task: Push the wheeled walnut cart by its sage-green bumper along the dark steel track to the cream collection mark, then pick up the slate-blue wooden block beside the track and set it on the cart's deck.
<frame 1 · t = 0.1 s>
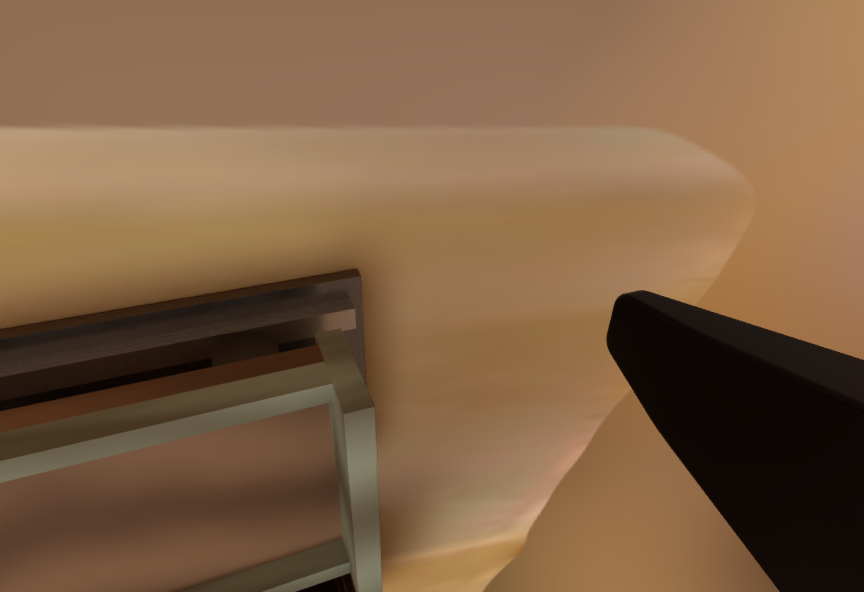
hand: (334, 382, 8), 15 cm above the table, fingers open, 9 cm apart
cart: (144, 513, 21), point 5 cm above the table, slide at 0.0 cm
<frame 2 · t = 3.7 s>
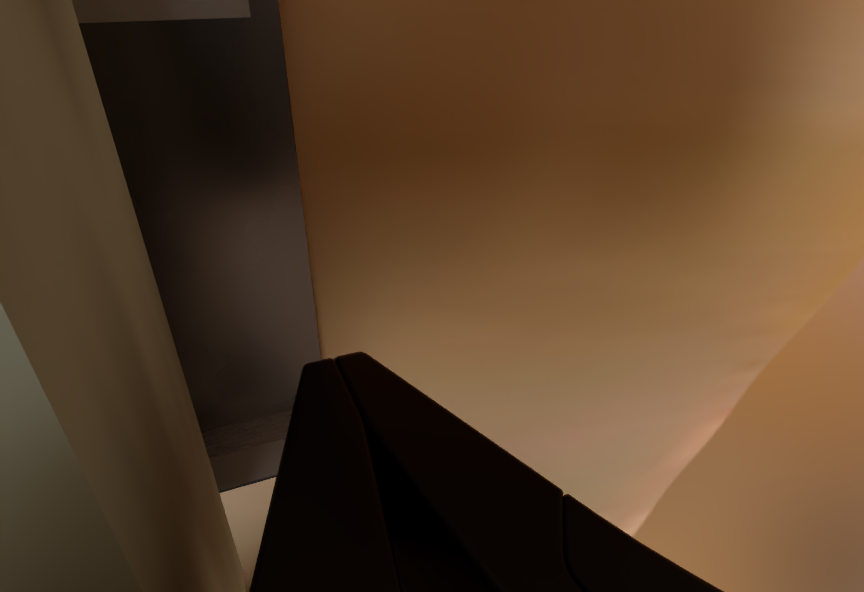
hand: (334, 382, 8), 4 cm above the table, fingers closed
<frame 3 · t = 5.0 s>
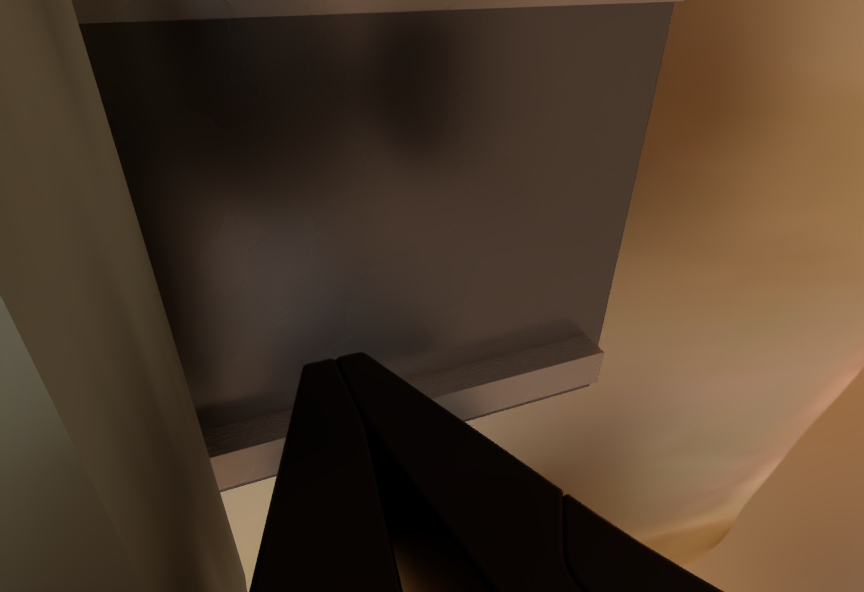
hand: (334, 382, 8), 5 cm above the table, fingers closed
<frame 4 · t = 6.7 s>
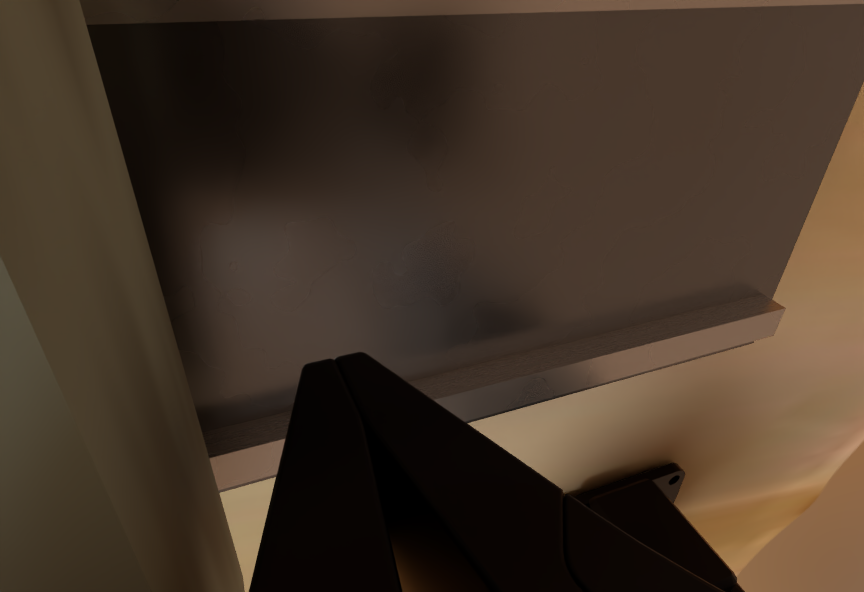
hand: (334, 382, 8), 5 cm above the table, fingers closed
track: (132, 258, 10), on the table
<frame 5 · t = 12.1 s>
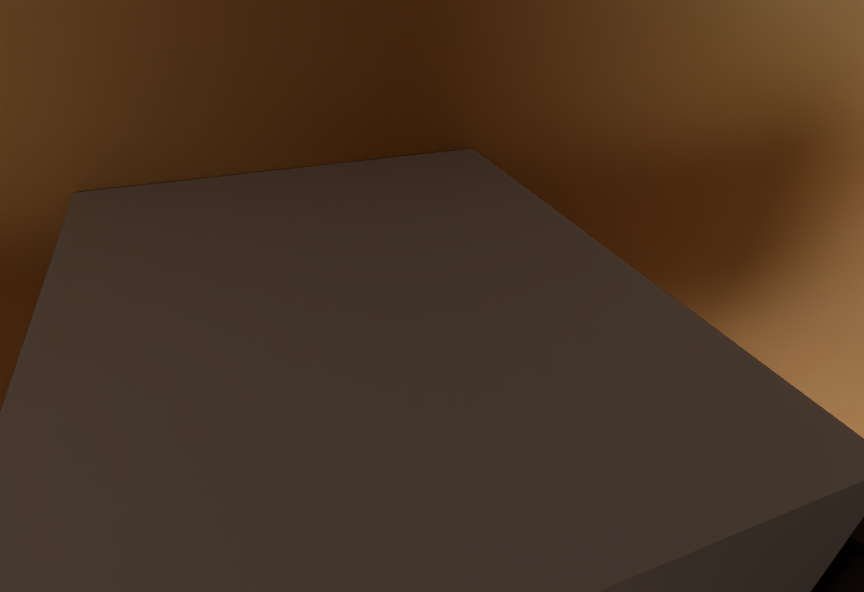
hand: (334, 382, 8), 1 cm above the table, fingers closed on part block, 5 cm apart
part block: (313, 326, 9), on the table, touching gripper
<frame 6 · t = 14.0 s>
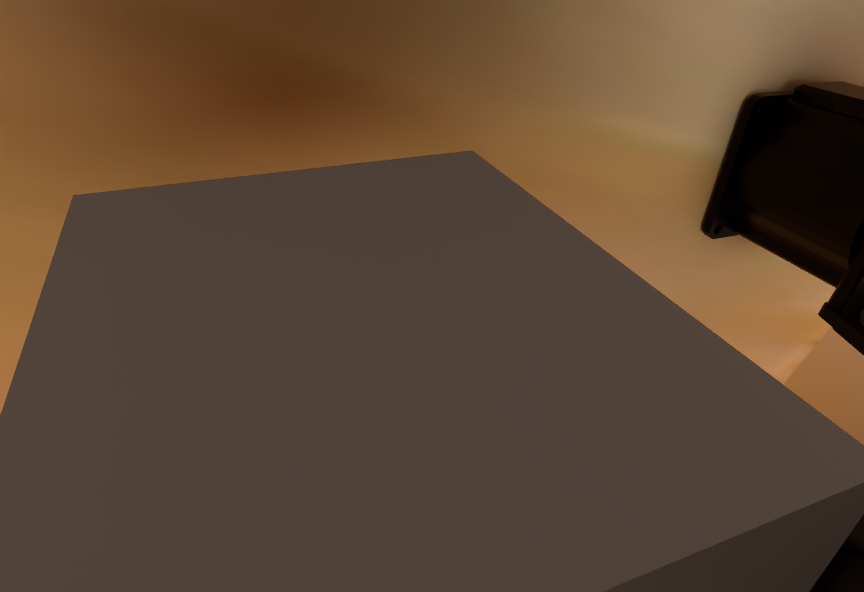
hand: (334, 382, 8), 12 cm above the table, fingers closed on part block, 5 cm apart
part block: (312, 328, 9), point 11 cm above the table, touching gripper
when the fingers open (7 cm above the table, at t = 15.9 s): part block drops 1 cm, resting on cart.
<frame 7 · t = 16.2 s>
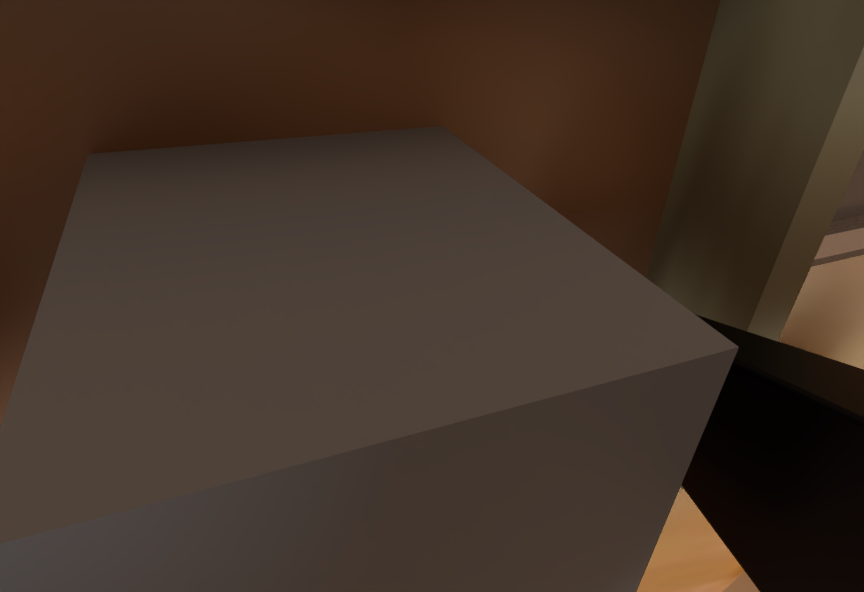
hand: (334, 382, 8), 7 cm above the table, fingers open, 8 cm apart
cart: (330, 267, 10), point 5 cm above the table, slide at 14.8 cm, touching part block
track: (552, 146, 16), on the table
part block: (298, 285, 10), point 5 cm above the table, touching cart
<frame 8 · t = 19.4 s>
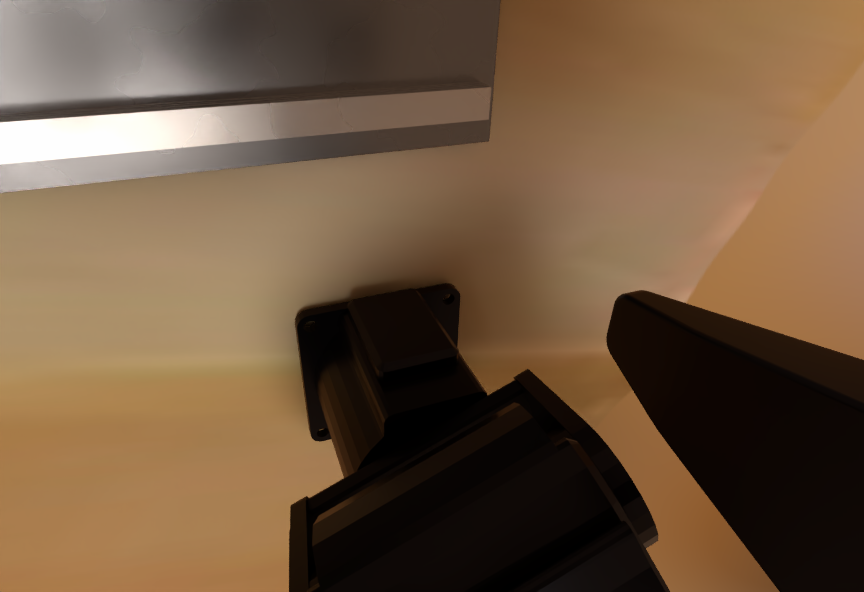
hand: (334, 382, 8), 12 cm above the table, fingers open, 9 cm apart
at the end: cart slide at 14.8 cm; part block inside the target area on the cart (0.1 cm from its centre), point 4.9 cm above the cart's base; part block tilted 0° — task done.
